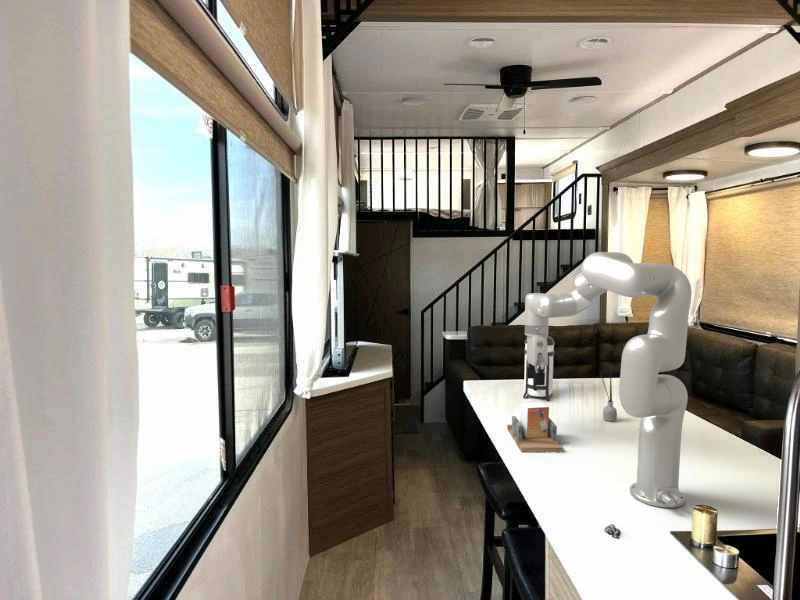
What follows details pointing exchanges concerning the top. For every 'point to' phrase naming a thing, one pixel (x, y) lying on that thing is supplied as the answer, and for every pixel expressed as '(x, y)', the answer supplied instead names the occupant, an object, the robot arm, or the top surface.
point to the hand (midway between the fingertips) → (535, 381)
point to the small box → (534, 420)
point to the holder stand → (535, 439)
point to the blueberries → (612, 531)
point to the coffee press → (547, 388)
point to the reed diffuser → (609, 405)
